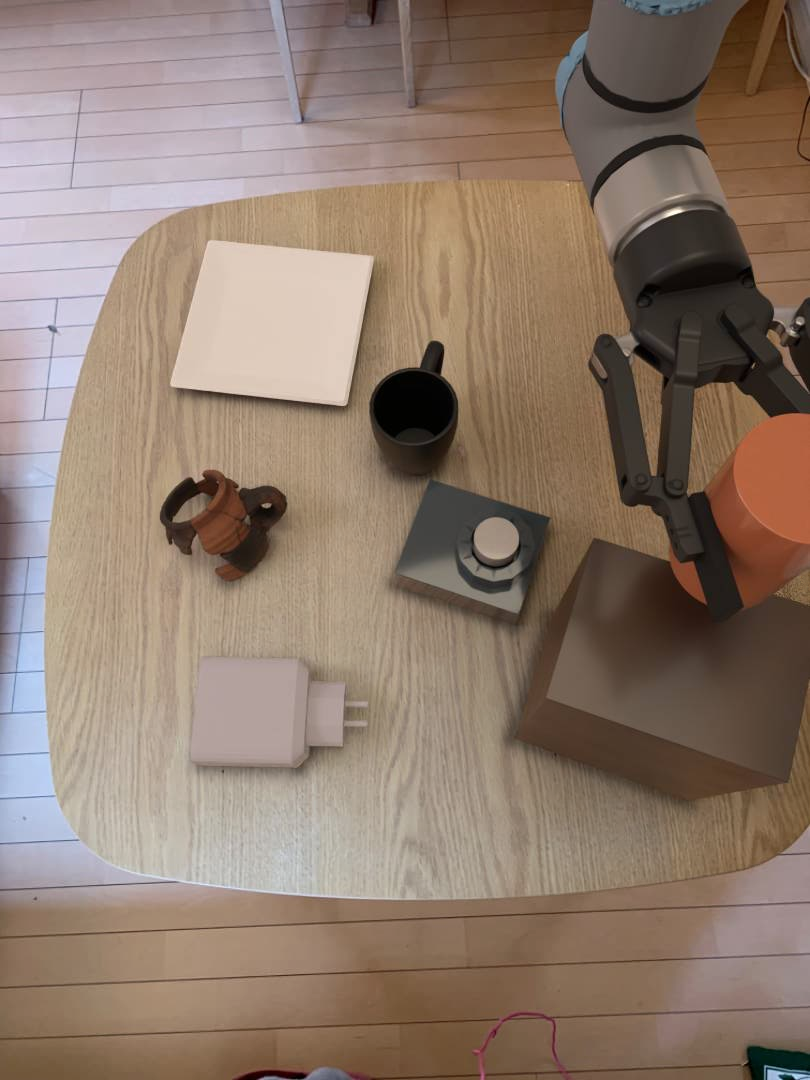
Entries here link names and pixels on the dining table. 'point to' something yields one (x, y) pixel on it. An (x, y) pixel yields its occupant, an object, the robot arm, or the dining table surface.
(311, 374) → the plate
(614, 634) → the stand
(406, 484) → the dining table surface
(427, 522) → the gray button box
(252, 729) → the charger
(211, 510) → the pottery mug
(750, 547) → the orange cylinder
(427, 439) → the mug
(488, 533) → the round white push button
